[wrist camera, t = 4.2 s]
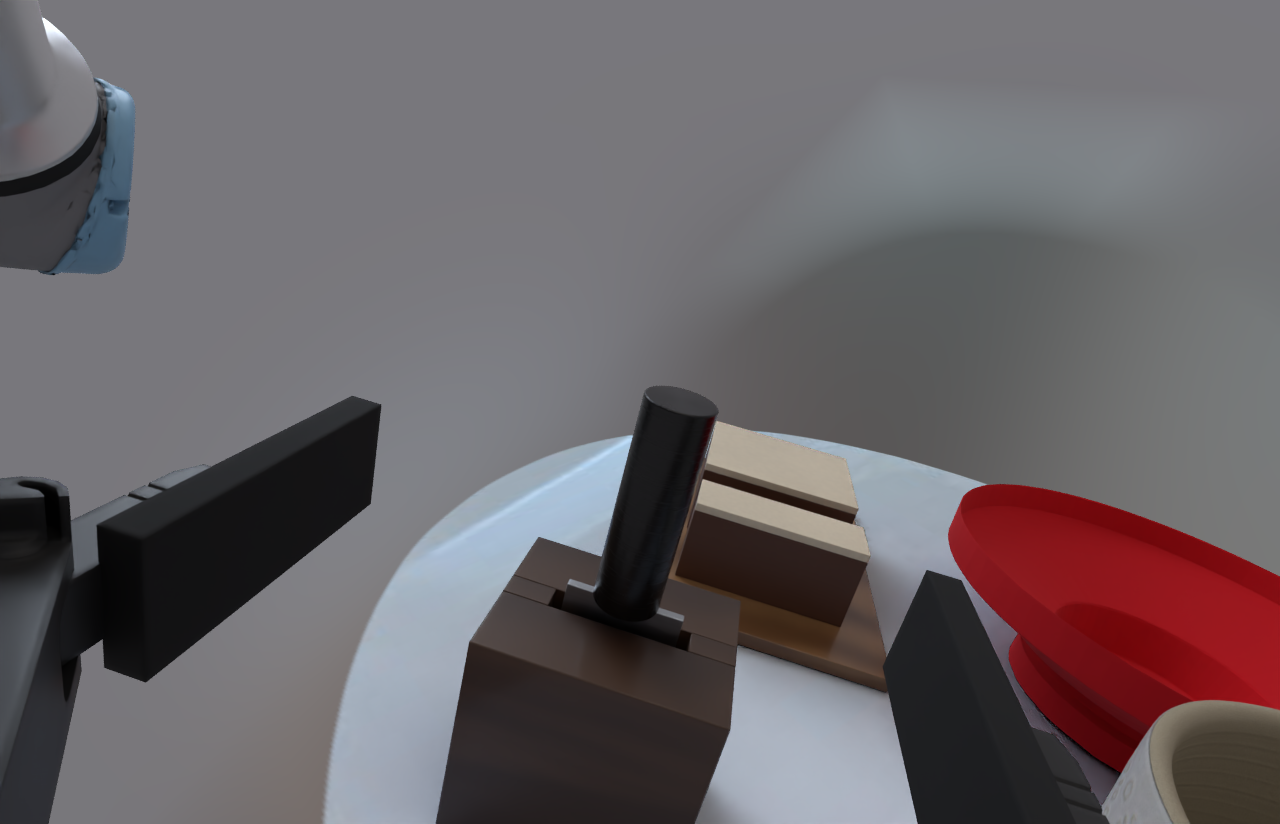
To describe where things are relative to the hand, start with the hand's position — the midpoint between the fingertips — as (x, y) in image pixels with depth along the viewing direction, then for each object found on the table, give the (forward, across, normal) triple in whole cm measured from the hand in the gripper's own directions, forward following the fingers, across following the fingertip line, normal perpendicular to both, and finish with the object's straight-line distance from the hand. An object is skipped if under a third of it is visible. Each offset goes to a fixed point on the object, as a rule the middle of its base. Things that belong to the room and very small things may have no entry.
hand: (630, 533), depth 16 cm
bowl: (+30, +35, -20) cm, 50 cm away
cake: (+40, +8, -19) cm, 45 cm away
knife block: (+10, 0, -20) cm, 22 cm away
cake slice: (+30, +8, -19) cm, 36 cm away
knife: (+10, 0, -19) cm, 21 cm away
